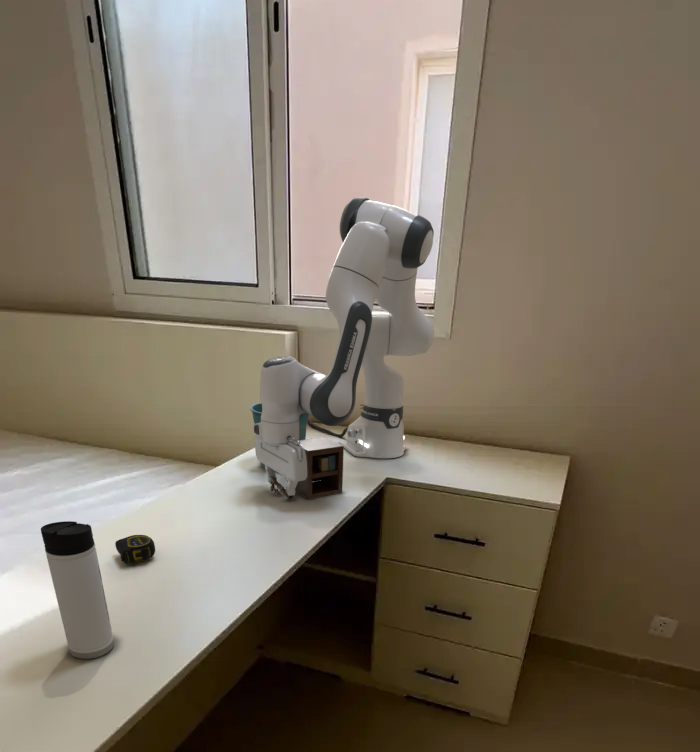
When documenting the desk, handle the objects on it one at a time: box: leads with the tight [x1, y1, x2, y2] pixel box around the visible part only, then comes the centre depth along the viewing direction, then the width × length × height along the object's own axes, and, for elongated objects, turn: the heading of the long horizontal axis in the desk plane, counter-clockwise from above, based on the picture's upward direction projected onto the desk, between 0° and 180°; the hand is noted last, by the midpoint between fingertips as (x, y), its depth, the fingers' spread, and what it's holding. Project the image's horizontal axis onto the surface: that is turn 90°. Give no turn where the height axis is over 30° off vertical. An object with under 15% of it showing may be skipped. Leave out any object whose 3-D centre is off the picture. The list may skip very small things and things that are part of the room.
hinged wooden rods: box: [270, 476, 295, 502], centre depth 149 cm, size 2×8×4 cm, turn 49°
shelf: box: [295, 436, 345, 500], centre depth 151 cm, size 9×10×12 cm
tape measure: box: [114, 534, 156, 565], centre depth 116 cm, size 7×7×4 cm
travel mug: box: [40, 520, 115, 660], centre depth 85 cm, size 6×7×20 cm
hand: (281, 488), depth 148 cm, fingers open, 8 cm apart
